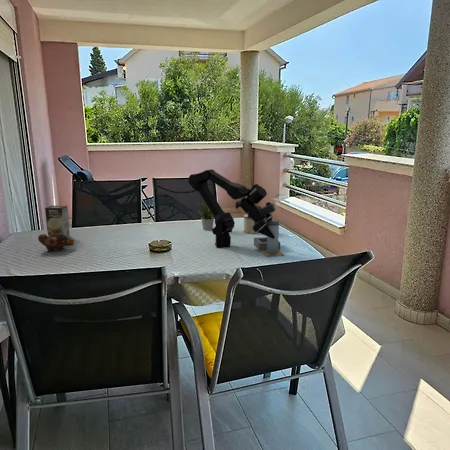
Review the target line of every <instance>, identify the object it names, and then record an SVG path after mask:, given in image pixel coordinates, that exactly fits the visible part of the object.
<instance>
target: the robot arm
mask: <svg viewBox="0 0 450 450" xmlns="http://www.w3.org/2000/svg"><path fill="white" fill-rule="evenodd" d="M209 181H210V182H212V183H213V184H216V186H218V187H220V188H221V189H223V190H224V191H226V193H227V195H228V196H229V197H230V198H231V199H233V200H235V201H236V200H237V201H236V202H235V209H236V210H237V209H239V208H240V209H241V210H242V211H244V212H245V214H247V215H248V216H247V217H248V218H251V219H252V220H253V221H254V222H255V223H254V226H253V230H254V231H255V232H257V231H258V230H259V231H258V232H257V233H256V234H261V235H263V236H264V237H267V236H268V237H270V238H273V239H274V238H275V236H274V234H273V233H272V232H271V230H270V229H269V227H268V223H267V221H270V220H273V213H274V212H276V207H275V204H274V203H273V202H270V201H268V202H265V206H260V205H258V204H259V203H261V201H262V200H263V199H265V198H266V197H267V195H268V193H267V190H266V189H265V188H264V187H263V186H260V185H259V184H258V183H255V184H253V185H252V187H251V188H250V189H249V188H247V186H246V185H243V184H241V183H237V182H233V181H231V180H230V179H227V178H226V177H224V176H223V175H221V174H220V173H218V172H217V171H215V170H214V169H206V170H203V171H202V172H199V173H192V174H190V175H189V177H188V180H187V182H188V184H189V186H190V187H191V188H192V189H193V190H195V191H197V192H198V193H199V194H200V196H201V197H202V199H203V201H204V204H205V205H207V206H208V209H210V211H211V212H212V214H213V215H212V216H213V218H214V224H215V226H213V229H212V230H211V231H212V235H215V242H214V245H215V247H216V248H231V243H232V241H231V239H232V238H231V235H230V233H232V232H233V229H234V228H235V224H236V223H235V218H234V217H232V214H231V213H230V212H225V211H224V210H223V209H222V207H221V206H220V203H219V202H218V201H217V199H216V197H215V196H214V195H213V193H212V191H211V190H210V188H209ZM239 199H240V200H239ZM238 200H239V201H238Z"/></svg>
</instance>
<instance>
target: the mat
mask: <svg viewBox="0 0 450 450" xmlns="http://www.w3.org/2000/svg"><path fill="white" fill-rule="evenodd" d="M261 252H262V254H263V255H264V256H265V257H266V258H268V257H269V258H270V257H282V256H283V257H284V256H285V254H284V253H283V252H282V251H281V249H280V250H279V249H278V253H277V254H269V253H267V250H262V251H261Z"/></svg>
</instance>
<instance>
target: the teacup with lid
mask: <svg viewBox="0 0 450 450" xmlns="http://www.w3.org/2000/svg"><path fill="white" fill-rule="evenodd" d="M247 216H248V215H247V214H246V213H245V214H243V232H244V233H245V234H251V235H255V234H258V233H257V232H258V231H259V230H258V231H257V232H255V231H254V230H253V226H254V223H255V222H254V221H253V220H252V219H251V218H248V217H247Z"/></svg>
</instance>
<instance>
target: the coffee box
mask: <svg viewBox="0 0 450 450" xmlns="http://www.w3.org/2000/svg"><path fill="white" fill-rule="evenodd" d="M44 210H45V220H46V229H47V230H46V231H47V236H48V237H49V236H50V235H51V234H54V233H61V234H64V235H66V236H68V238H70V236H71V233H70V222H69V211H68V205H49V206H46V207H44Z"/></svg>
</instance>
